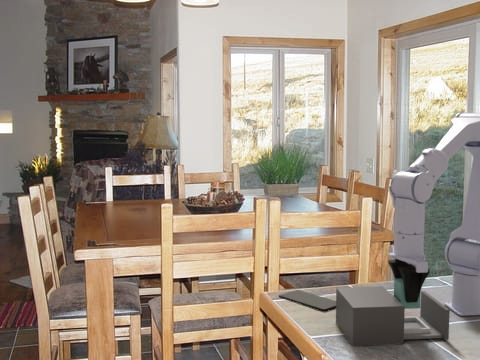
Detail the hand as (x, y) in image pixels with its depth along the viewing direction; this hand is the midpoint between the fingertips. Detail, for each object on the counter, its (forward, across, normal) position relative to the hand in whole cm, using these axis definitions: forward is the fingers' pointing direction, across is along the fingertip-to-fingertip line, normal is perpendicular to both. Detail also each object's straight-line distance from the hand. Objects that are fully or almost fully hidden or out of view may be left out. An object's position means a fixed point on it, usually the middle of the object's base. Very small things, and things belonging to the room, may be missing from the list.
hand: (407, 298), depth 118 cm
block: (+1, 0, 0) cm, 1 cm away
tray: (+7, 0, +1) cm, 7 cm away
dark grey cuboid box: (+7, 0, -8) cm, 11 cm away
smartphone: (+8, -21, -16) cm, 27 cm away
